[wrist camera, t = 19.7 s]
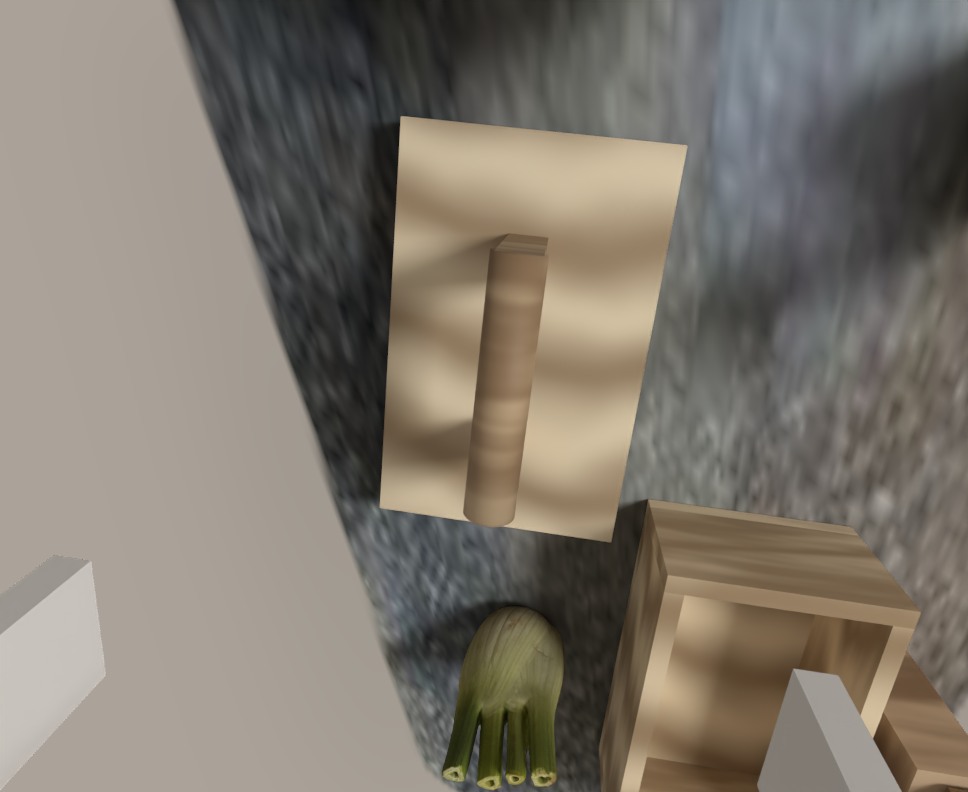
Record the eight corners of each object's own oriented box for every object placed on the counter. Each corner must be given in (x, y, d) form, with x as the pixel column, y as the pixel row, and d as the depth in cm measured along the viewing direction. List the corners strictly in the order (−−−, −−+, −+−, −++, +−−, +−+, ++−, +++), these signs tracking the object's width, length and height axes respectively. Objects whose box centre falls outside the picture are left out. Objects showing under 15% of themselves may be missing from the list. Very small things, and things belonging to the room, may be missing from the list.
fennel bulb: (465, 635, 44) (431, 791, 33) (492, 580, 43) (466, 725, 32) (543, 667, 45) (535, 834, 33) (573, 614, 43) (576, 770, 32)
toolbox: (648, 499, 40) (672, 593, 31) (948, 540, 38) (1065, 651, 29) (598, 748, 46) (607, 885, 37) (852, 790, 45) (924, 944, 36)
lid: (411, 120, 34) (344, 96, 24) (679, 147, 33) (732, 135, 23) (390, 489, 42) (331, 595, 31) (608, 521, 41) (623, 642, 30)
